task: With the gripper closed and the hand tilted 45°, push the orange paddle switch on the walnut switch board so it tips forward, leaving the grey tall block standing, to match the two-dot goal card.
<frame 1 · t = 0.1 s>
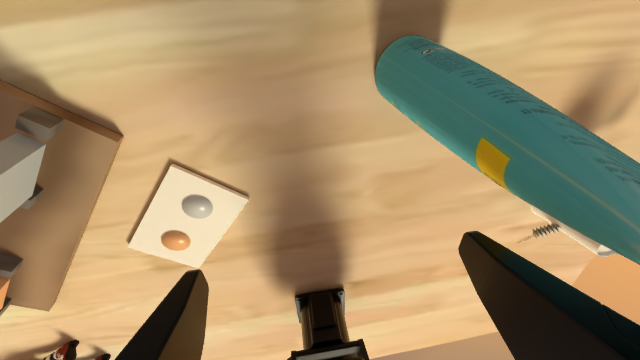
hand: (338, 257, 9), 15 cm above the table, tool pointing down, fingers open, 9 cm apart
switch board: (28, 219, 23), on the table
toy figure: (537, 181, 30), on the table
tube: (404, 72, 21), on the table
goal card: (187, 221, 26), on the table
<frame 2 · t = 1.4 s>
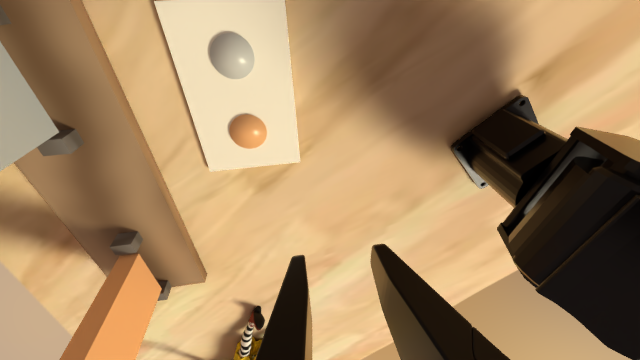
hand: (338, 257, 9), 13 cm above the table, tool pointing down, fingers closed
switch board: (109, 185, 21), on the table
figurine: (244, 350, 40), on the table
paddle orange: (112, 337, 19), point 8 cm above the table, hinge at 0.0°
goal card: (241, 95, 18), on the table
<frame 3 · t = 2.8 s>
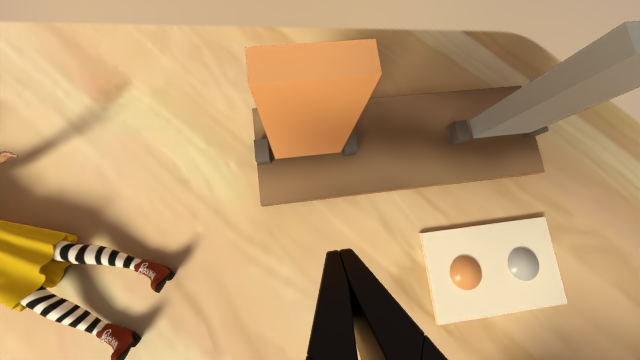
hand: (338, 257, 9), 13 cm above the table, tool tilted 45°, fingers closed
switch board: (397, 144, 24), on the table
figurine: (16, 239, 21), on the table
grey tall block: (562, 94, 17), point 8 cm above the table, hinge at 0.0°
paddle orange: (309, 118, 15), point 8 cm above the table, hinge at 0.0°
goal card: (490, 267, 22), on the table
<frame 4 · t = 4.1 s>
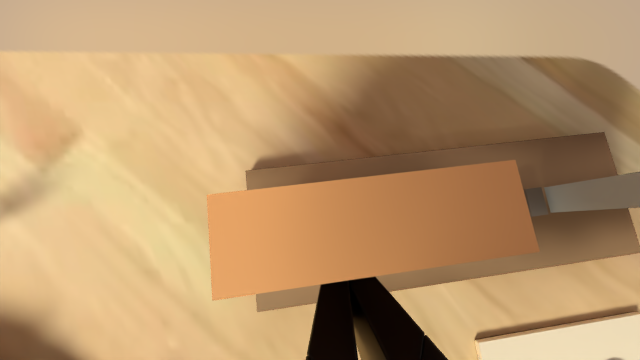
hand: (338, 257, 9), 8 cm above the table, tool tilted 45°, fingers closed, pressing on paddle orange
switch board: (440, 213, 18), on the table
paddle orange: (334, 228, 9), point 8 cm above the table, hinge at 0.8°, touching gripper
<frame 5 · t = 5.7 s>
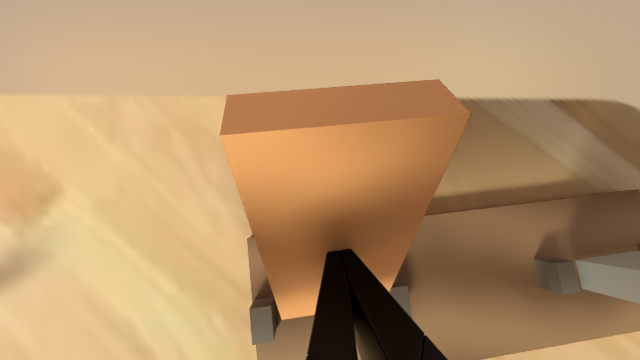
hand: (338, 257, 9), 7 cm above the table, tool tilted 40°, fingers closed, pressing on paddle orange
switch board: (459, 279, 16), on the table
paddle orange: (334, 238, 10), point 6 cm above the table, hinge at 36.8°, touching gripper
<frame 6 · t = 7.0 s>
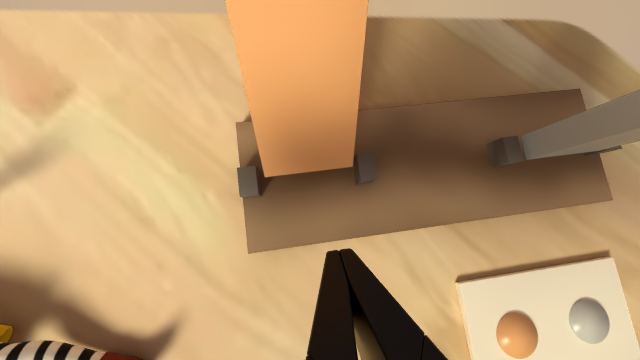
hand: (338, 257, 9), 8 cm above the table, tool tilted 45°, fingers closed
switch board: (423, 165, 18), on the table
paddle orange: (301, 71, 12), point 6 cm above the table, hinge at 36.0°
goal card: (546, 325, 17), on the table
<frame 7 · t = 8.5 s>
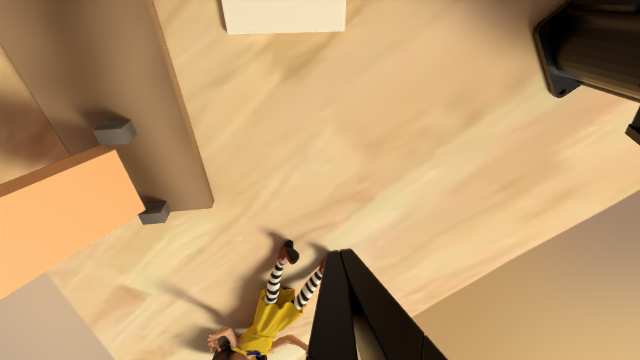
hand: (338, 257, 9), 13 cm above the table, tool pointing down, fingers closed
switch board: (95, 47, 16), on the table
figurine: (267, 305, 34), on the table
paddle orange: (27, 228, 15), point 6 cm above the table, hinge at 36.0°
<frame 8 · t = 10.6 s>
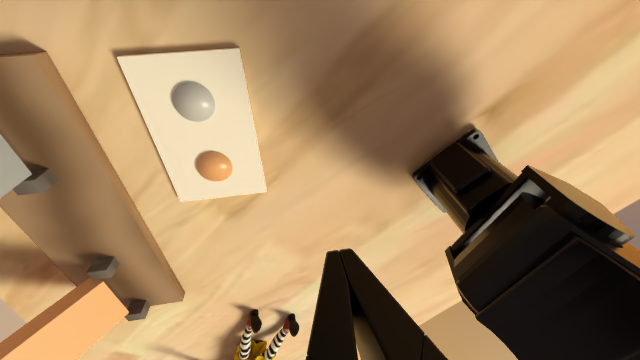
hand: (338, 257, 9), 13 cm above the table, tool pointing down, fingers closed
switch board: (85, 215, 22), on the table
figurine: (245, 352, 40), on the table
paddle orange: (42, 351, 21), point 6 cm above the table, hinge at 36.0°
goal card: (206, 134, 20), on the table
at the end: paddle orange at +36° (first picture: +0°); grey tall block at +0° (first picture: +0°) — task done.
